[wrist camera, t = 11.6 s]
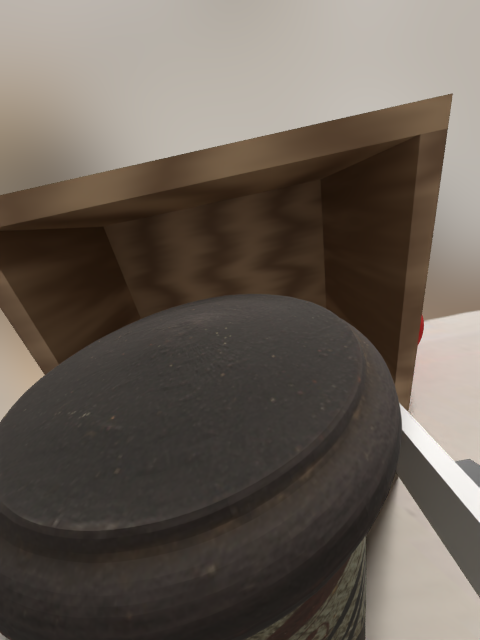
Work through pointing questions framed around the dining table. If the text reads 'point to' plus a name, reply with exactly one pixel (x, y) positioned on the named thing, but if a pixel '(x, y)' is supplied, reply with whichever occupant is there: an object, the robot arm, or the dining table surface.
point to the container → (199, 479)
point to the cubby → (237, 234)
